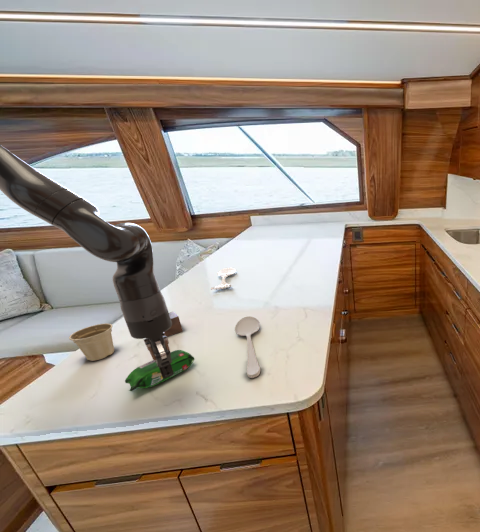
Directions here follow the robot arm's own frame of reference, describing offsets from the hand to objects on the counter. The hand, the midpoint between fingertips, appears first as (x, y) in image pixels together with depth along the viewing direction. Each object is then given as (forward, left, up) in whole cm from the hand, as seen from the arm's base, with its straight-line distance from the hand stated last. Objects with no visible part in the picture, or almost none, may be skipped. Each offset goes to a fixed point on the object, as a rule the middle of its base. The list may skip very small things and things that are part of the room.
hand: (168, 375), depth 73 cm
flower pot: (-11, +40, -7) cm, 42 cm away
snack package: (0, +12, -7) cm, 14 cm away
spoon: (+22, +8, -7) cm, 24 cm away
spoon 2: (+37, +78, -7) cm, 87 cm away
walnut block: (+7, +40, -7) cm, 41 cm away
